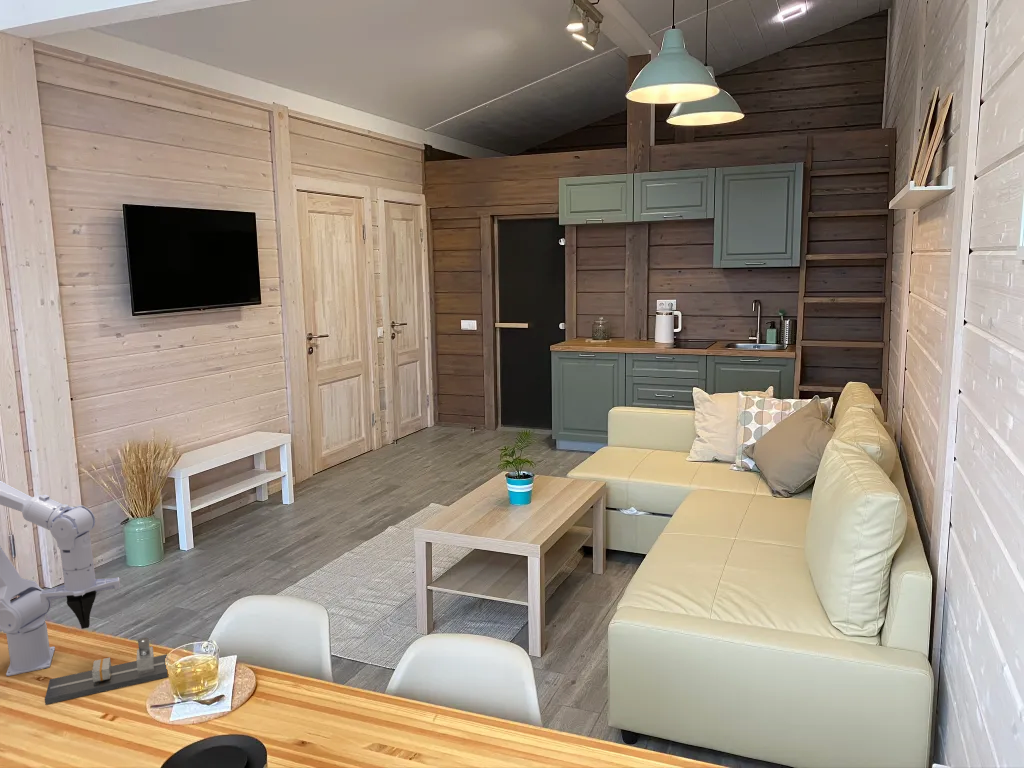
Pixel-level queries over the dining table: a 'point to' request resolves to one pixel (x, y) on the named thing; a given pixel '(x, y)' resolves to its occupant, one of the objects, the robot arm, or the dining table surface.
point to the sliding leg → (101, 669)
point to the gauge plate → (119, 677)
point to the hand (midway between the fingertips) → (85, 626)
